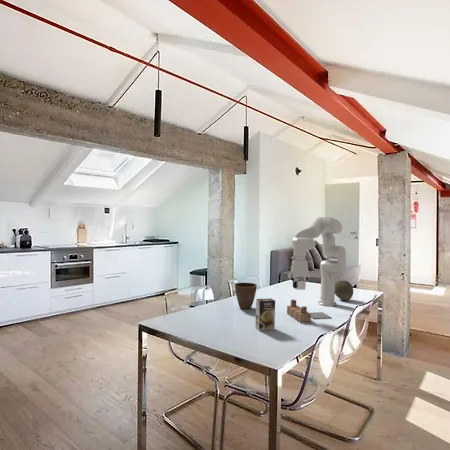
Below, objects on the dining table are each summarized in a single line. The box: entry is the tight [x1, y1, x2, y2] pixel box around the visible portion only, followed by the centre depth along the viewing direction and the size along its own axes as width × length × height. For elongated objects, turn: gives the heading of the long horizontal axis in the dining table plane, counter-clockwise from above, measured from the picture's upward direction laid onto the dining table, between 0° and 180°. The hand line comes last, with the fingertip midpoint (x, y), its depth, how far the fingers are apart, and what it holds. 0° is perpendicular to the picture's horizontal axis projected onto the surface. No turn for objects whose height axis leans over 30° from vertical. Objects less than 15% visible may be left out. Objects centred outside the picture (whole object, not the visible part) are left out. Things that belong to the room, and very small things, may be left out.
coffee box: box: [254, 297, 276, 332], centre depth 187 cm, size 9×6×16 cm
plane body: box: [286, 299, 312, 323], centre depth 210 cm, size 20×7×9 cm, turn 11°
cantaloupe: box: [335, 280, 354, 301], centre depth 259 cm, size 14×14×15 cm
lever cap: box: [295, 278, 306, 291], centre depth 210 cm, size 7×5×6 cm
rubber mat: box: [309, 311, 333, 320], centre depth 214 cm, size 12×12×1 cm
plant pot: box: [234, 282, 258, 311], centre depth 230 cm, size 15×15×16 cm
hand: (299, 287), depth 210 cm, fingers closed on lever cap, 5 cm apart
